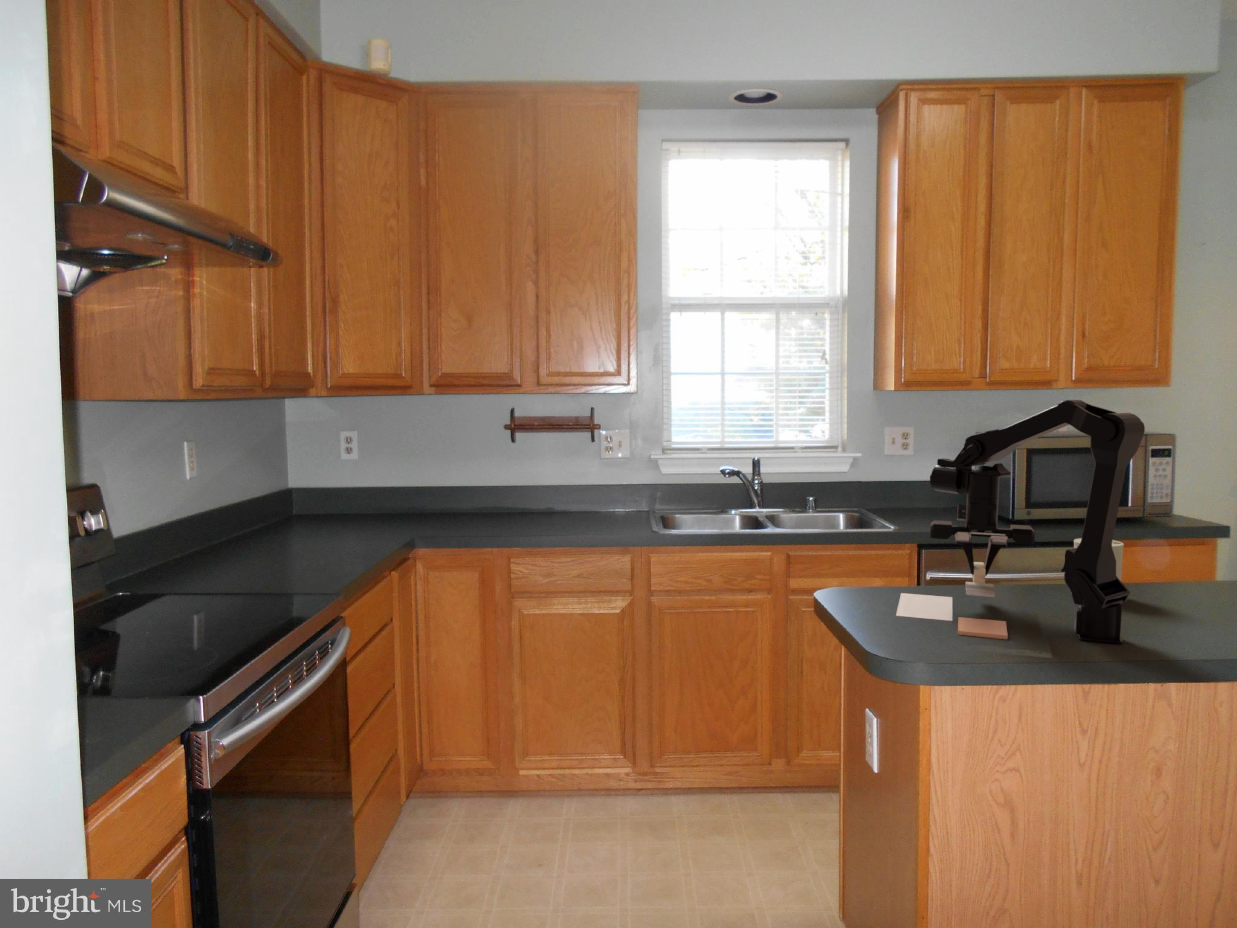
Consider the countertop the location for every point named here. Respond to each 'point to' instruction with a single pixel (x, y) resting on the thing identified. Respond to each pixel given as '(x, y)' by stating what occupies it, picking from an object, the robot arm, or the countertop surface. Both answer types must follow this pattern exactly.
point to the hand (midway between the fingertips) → (979, 574)
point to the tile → (982, 628)
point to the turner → (979, 582)
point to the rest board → (925, 606)
